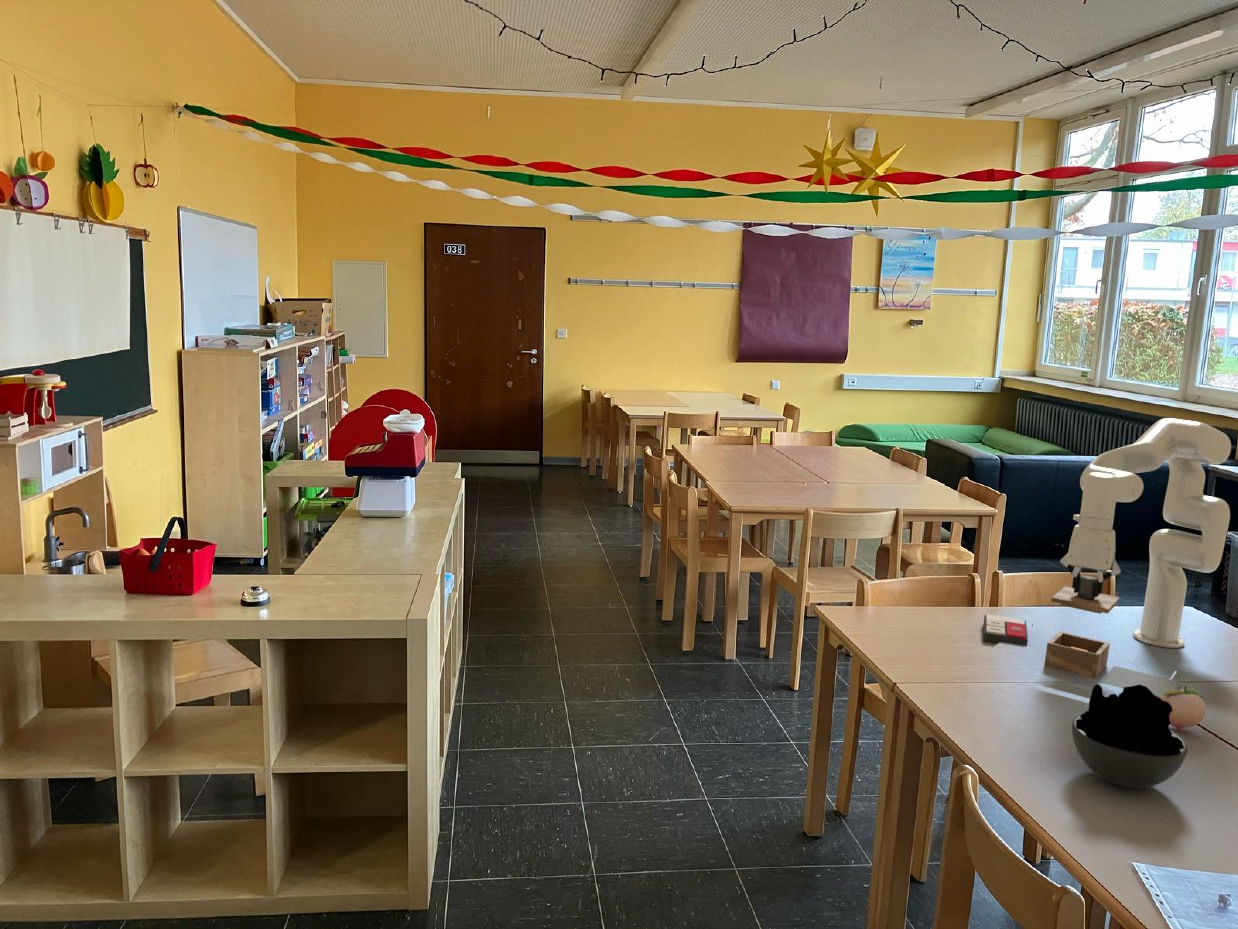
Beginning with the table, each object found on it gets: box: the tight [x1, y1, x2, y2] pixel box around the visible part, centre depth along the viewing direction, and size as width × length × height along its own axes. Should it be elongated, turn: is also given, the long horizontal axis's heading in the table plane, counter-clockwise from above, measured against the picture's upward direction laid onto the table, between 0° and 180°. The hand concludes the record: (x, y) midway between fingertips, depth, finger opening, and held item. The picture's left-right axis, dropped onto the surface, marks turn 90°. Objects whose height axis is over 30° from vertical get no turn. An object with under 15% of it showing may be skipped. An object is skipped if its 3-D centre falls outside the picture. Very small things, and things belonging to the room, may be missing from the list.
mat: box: [1100, 665, 1181, 698], centre depth 244 cm, size 15×15×1 cm
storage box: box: [1044, 631, 1111, 680], centre depth 253 cm, size 12×12×7 cm
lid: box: [1050, 575, 1121, 615], centre depth 250 cm, size 13×13×7 cm
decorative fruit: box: [1161, 685, 1207, 730], centre depth 219 cm, size 9×8×10 cm
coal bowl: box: [1071, 683, 1189, 789], centre depth 193 cm, size 20×20×19 cm
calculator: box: [982, 614, 1029, 646], centre depth 275 cm, size 11×4×15 cm
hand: (1086, 593), depth 250 cm, fingers closed on lid, 4 cm apart
